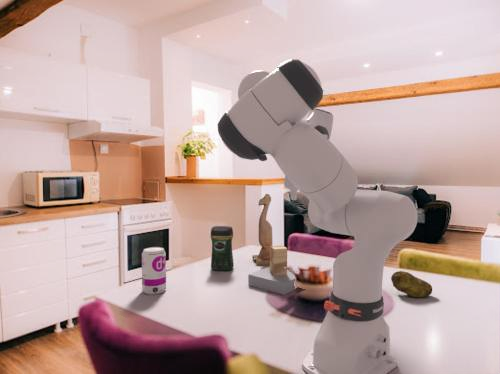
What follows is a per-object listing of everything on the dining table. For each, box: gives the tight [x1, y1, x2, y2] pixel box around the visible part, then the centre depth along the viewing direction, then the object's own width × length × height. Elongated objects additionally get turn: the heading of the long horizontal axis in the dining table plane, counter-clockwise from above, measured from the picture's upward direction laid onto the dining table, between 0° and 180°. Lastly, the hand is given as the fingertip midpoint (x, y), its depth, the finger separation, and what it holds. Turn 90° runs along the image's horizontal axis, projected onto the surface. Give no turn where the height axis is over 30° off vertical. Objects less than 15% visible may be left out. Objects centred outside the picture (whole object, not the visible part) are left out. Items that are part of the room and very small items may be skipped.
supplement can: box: [141, 246, 167, 296], centre depth 125 cm, size 8×8×15 cm
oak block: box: [269, 244, 288, 276], centre depth 132 cm, size 5×5×10 cm
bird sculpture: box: [252, 193, 273, 266], centre depth 162 cm, size 11×12×32 cm
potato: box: [390, 270, 433, 298], centre depth 121 cm, size 8×13×8 cm, turn 62°
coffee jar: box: [209, 225, 235, 272], centre depth 152 cm, size 10×8×19 cm
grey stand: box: [248, 266, 300, 296], centre depth 133 cm, size 16×16×4 cm
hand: (301, 197), depth 121 cm, fingers open, 8 cm apart
